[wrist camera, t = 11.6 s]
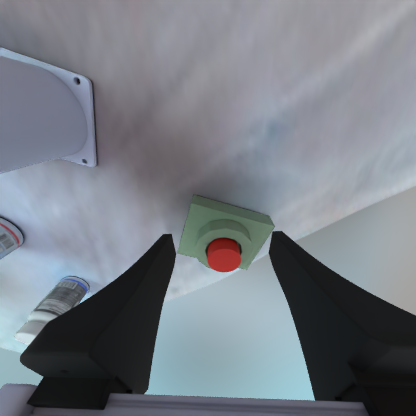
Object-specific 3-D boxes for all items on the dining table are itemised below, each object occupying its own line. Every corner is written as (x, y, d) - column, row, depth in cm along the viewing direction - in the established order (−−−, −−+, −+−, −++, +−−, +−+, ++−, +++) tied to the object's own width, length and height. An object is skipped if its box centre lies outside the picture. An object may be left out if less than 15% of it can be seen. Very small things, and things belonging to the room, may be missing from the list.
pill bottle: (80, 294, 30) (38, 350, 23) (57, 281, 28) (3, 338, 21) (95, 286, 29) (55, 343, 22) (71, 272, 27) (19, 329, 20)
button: (204, 256, 19) (203, 268, 17) (213, 234, 17) (213, 245, 16) (232, 262, 19) (233, 275, 18) (244, 241, 18) (246, 253, 16)
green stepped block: (180, 242, 23) (174, 264, 19) (193, 194, 19) (189, 211, 15) (244, 257, 24) (249, 281, 21) (269, 216, 20) (280, 236, 17)
